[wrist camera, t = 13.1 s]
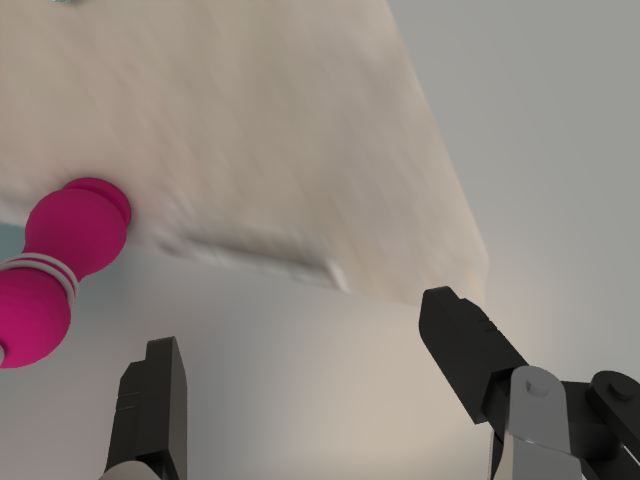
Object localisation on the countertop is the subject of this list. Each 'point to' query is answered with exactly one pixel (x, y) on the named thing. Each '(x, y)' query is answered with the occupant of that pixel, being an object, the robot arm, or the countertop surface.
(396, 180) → the countertop surface
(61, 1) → the socket block
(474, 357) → the robot arm
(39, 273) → the pepper mill
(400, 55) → the countertop surface
